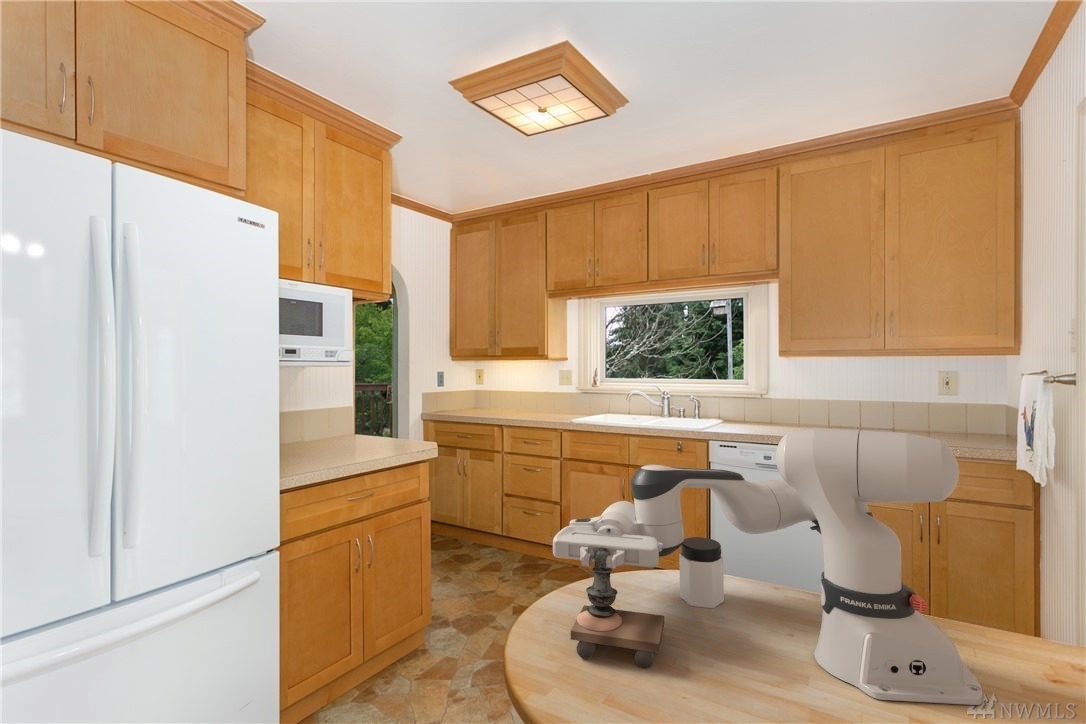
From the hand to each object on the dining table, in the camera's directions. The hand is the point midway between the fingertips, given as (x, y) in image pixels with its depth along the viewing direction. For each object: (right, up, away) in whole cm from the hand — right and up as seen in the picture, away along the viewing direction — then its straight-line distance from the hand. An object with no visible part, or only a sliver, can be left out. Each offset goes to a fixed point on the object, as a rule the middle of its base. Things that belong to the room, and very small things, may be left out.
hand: (597, 563), depth 95 cm
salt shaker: (+1, -10, +4) cm, 11 cm away
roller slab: (+4, -15, -1) cm, 15 cm away
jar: (+24, -15, +18) cm, 34 cm away
